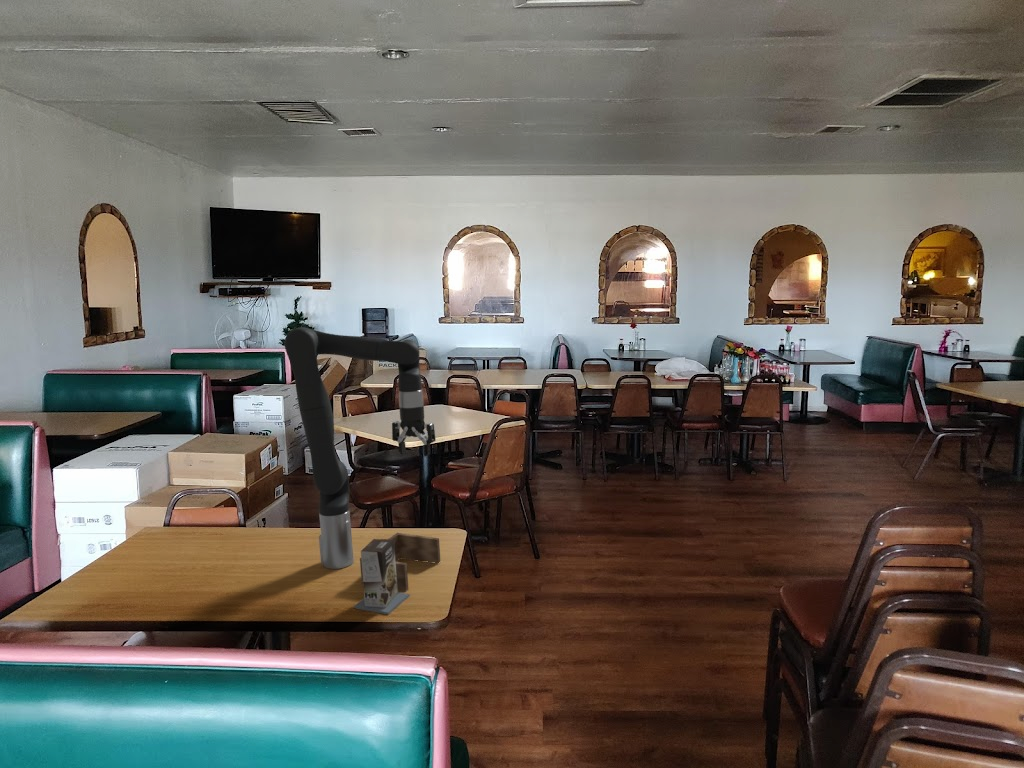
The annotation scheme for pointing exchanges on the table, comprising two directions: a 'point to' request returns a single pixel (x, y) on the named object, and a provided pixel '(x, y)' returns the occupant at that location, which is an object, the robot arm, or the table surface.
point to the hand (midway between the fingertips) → (414, 454)
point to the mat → (389, 608)
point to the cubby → (412, 554)
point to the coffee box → (379, 572)
